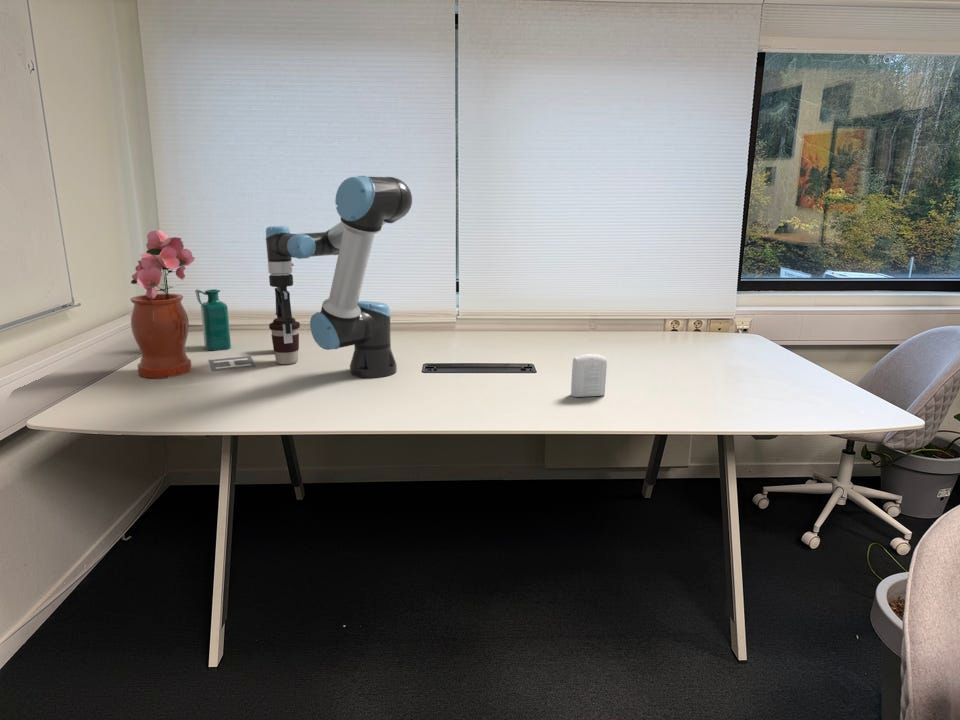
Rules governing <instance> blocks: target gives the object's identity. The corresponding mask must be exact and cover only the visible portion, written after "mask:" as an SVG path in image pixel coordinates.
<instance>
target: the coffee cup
mask: <svg viewBox="0 0 960 720" xmlns="http://www.w3.org/2000/svg"><path fill="white" fill-rule="evenodd" d="M292 320H293V322H292V323H291V324H292V338H293V343H286V344H284V335H283V324H282V325H281V322H283V317H281V318H277V317H276V318H274V319H273V320H272V322H270V323H269V325H268V328H269V329H270V330H271V340H272V346H273V352H274V357H275V362H276V363H277V364H279V365H292V364H295V363H297V362H299V350H300V349H299V348H300V333H299V328H301V323H300V322H299V321H296V318H295V317H292Z"/></svg>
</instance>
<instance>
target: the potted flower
mask: <svg viewBox="0 0 960 720" xmlns="http://www.w3.org/2000/svg"><path fill="white" fill-rule="evenodd" d="M146 238H147V243H146V245H145V246H146V248H147V250H146V252H143V253H140V256H141V259H140V260H137V262H138V264H137V265H136V266H135V273H133V274H132V275H131V279H132V280H131V281H130V284H131V285H132V284H133V285H137V284H138V285H139V286H140V287H142V288H143V289H145V290H146V293H145V294H142V295H137V296H136V295H135V296H132V297H131V298H130V301H131V303H132V304H133V309H132V311H131V314H130V329H131V333H132V336H133V338H134V340H135V343H136V344H137V346H138V348H139V349H138V350H139V351H140V353H141V356H140V357H141V358H140V362H138V363H137V372H138V376H139V377H141V378H143V379H144V378H145V379H168V378H169V377H176V376H181V375H185V374H187V373H189V372H191V371H192V369H193V367H192V360H191V359H190V358H189V357H188V356H187V354H186V351H185V350H186V343H187V340H188V335H189V329H190V328H189V327H190V326H189V325H190V324H189V322H190V321H189V317H188V313H187V312H186V310H185V308H184V306H183V304H182V301H183V298H184V296H183V294H179V293H169V289H171V288H174V287H176V285H175V286H170V285H168V279H167V278H168V277H167V276H168V275H169V274H171V273H174V271H173V270H175V275H176V277H177V278H178V279H180V280H181V281H185V279H184V278H185V277H186V275H185V272H184V271H185V270H186V267H187V266H190V264H192V263H193V262H194V261H195V257H194V256H193V253H192V251H191V250H190V249H188V248H184V247H185V246H184V242H183V240H182V237H176V236H175V237H169V236H168V235H167V234H166V233H165V232H164V231H162V230H160V229H158V230H151V231H149V232H148V233H147V235H146ZM166 270H167V271H166ZM162 271H163V272H162ZM163 274H164V275H163ZM162 276H163V282H164V284H161V280H162ZM187 284H188V283H186V285H187ZM158 285H161V286H164V288H161V287H160V286H158ZM183 285H185V283H184V284H182V286H183ZM179 286H180V284H179V285H177V287H179ZM156 287H157V288H158V289H156ZM159 291H160V292H163V293H158V292H159Z"/></svg>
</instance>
